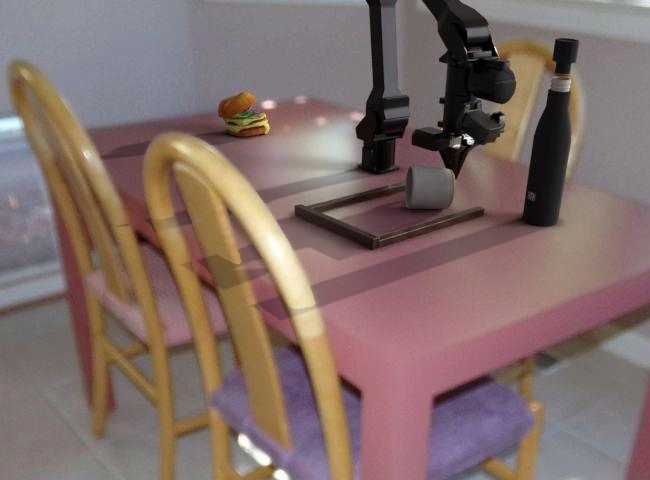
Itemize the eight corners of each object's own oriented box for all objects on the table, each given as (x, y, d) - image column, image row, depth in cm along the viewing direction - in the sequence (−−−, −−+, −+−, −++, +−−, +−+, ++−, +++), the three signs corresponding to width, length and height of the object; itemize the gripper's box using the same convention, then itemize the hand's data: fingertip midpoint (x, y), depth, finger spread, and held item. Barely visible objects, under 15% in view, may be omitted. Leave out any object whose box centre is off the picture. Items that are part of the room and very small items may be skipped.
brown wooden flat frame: (405, 186, 156) (406, 177, 155) (484, 214, 144) (485, 205, 143) (294, 215, 139) (294, 205, 138) (372, 249, 127) (373, 239, 126)
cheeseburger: (267, 138, 181) (255, 94, 176) (223, 148, 182) (209, 104, 177) (273, 127, 190) (262, 84, 185) (230, 136, 191) (217, 93, 186)
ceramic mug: (454, 214, 143) (458, 171, 140) (410, 214, 142) (413, 171, 138) (442, 196, 152) (445, 155, 149) (400, 196, 151) (402, 155, 147)
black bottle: (560, 217, 145) (590, 39, 129) (555, 228, 140) (585, 44, 124) (525, 212, 146) (550, 35, 131) (518, 222, 141) (544, 40, 126)
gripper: (460, 108, 131) (452, 200, 139) (529, 95, 142) (517, 181, 151) (412, 95, 138) (406, 184, 146) (481, 84, 149) (472, 167, 157)
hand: (453, 179), depth 150 cm, fingers closed
